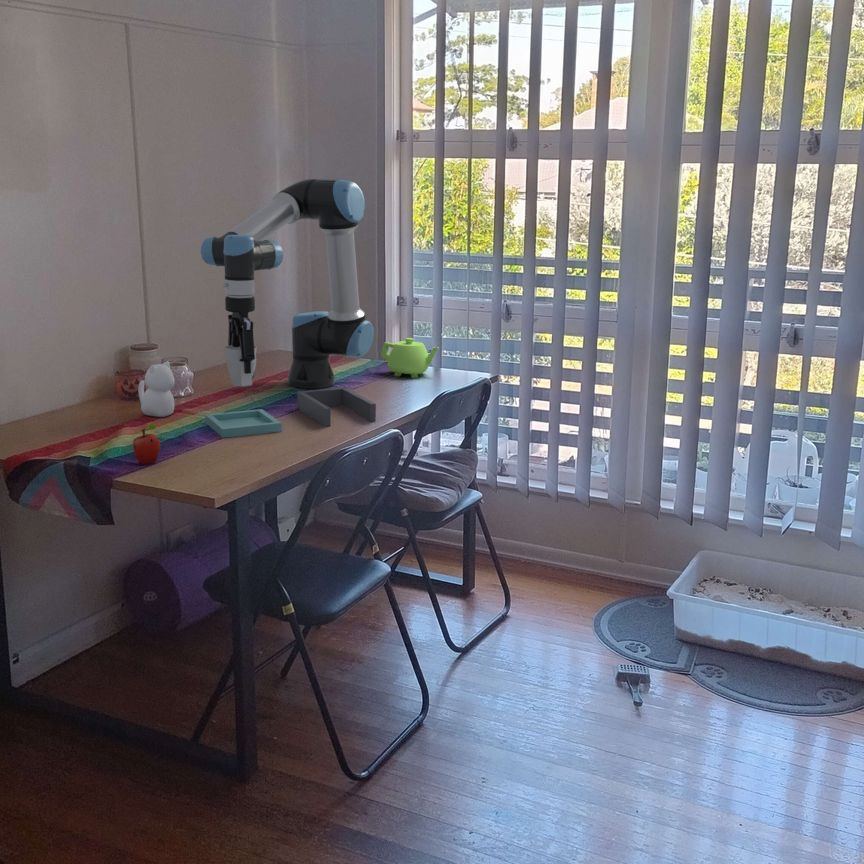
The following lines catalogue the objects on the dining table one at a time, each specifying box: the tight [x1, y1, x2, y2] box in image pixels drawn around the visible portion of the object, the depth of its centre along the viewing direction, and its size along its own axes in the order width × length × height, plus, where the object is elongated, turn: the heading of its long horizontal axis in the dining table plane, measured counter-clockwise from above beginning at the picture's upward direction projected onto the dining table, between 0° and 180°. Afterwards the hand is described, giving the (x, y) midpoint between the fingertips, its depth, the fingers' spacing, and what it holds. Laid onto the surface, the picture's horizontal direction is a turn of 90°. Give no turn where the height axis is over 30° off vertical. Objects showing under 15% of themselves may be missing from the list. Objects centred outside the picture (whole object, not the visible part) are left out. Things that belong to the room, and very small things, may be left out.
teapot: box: [380, 337, 440, 379], centre depth 327 cm, size 20×13×13 cm
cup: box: [224, 345, 258, 387], centre depth 254 cm, size 8×8×10 cm
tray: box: [204, 408, 283, 439], centre depth 259 cm, size 16×16×2 cm
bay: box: [296, 386, 377, 427], centre depth 274 cm, size 22×15×5 cm
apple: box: [132, 423, 162, 465], centre depth 225 cm, size 8×7×10 cm
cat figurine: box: [137, 360, 176, 418], centre depth 267 cm, size 9×12×15 cm
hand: (241, 381), depth 256 cm, fingers closed on cup, 8 cm apart
